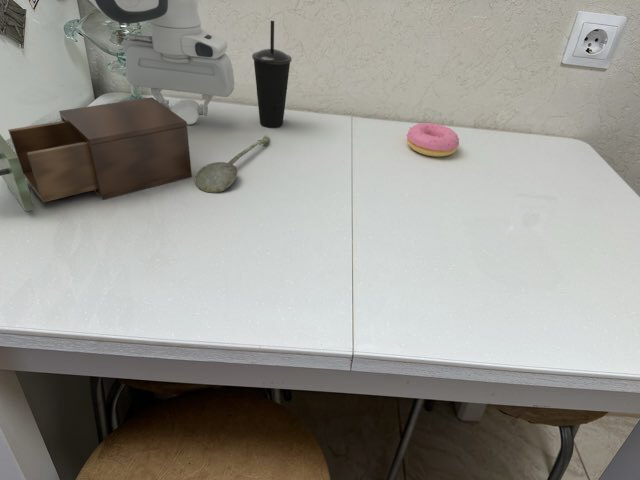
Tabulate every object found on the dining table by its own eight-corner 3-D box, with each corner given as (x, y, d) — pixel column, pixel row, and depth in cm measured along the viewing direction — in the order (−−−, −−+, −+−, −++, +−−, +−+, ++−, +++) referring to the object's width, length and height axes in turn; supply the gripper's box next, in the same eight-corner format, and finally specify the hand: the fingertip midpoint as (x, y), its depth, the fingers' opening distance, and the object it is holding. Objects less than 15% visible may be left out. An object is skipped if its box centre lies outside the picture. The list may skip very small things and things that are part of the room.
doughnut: (404, 155, 98) (408, 135, 96) (405, 134, 107) (408, 116, 105) (458, 163, 98) (463, 143, 96) (454, 141, 107) (459, 123, 105)
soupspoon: (187, 190, 80) (223, 201, 79) (185, 171, 78) (222, 183, 77) (252, 139, 97) (282, 148, 95) (252, 122, 94) (283, 132, 93)
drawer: (-12, 220, 65) (-33, 167, 60) (-32, 186, 71) (-53, 135, 66) (123, 187, 76) (114, 139, 71) (96, 159, 82) (86, 113, 77)
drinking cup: (246, 125, 102) (244, 20, 90) (263, 114, 108) (263, 14, 96) (279, 133, 100) (281, 28, 89) (295, 121, 106) (299, 21, 94)
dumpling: (206, 121, 102) (206, 105, 99) (190, 133, 99) (189, 116, 96) (178, 107, 103) (177, 91, 100) (162, 119, 100) (160, 102, 97)
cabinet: (102, 199, 74) (88, 139, 68) (73, 168, 80) (58, 110, 75) (192, 176, 82) (186, 121, 77) (159, 149, 89) (152, 97, 83)
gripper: (113, 36, 88) (126, 111, 97) (227, 50, 89) (229, 124, 97) (128, 28, 94) (138, 100, 102) (235, 42, 94) (237, 112, 102)
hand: (184, 112), depth 100 cm, fingers closed on dumpling, 6 cm apart
